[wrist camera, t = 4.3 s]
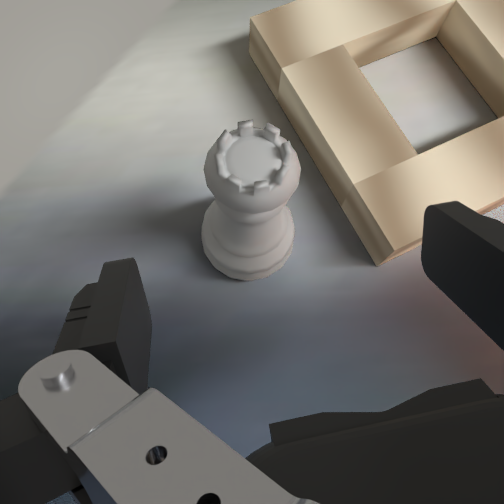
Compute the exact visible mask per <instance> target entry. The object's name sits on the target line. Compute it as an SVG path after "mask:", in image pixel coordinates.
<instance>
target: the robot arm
mask: <svg viewBox="0 0 504 504" xmlns="http://www.w3.org/2000/svg"><path fill="white" fill-rule="evenodd" d="M421 262H422V266H423V269H424V272H425V274H426V275H427V277H428V278H429V279H430V280H431V281H432V282H433V283H434V284H435V285H436V286H437V287H438V288H439V289H440V290H442V291H443V292H444V293H445V294H446V295H447V296H448V297H449V298H450V299H451V300H452V301H453V302H454V303H455V304H456V305H457V306H458V307H459V308H460V309H461V310H462V311H463V312H464V313H465V314H466V315H467V316H468V317H469V318H470V319H471V320H473V321H474V322H475V323H476V324H477V325H478V326H479V327H480V328H481V329H482V330H483V331H484V332H485V333H486V334H487V335H488V336H489V337H490V338H491V339H492V340H493V341H494V342H495V343H496V344H497V345H498V346H499V347H500V348H501V349H502V350H503V351H504V224H503V223H502V222H500V221H498V220H496V219H493V218H489V217H486V216H483V215H481V214H479V213H477V212H476V211H474V210H472V209H471V208H469V207H467V206H465V205H464V204H462V203H460V202H459V201H451V202H445V203H439V204H434V205H429V206H428V207H427V208H426V209H425V212H424V221H423V235H422V250H421ZM151 333H152V323H151V315H150V310H149V306H148V302H147V299H146V295H145V292H144V288H143V284H142V281H141V277H140V274H139V270H138V267H137V264H136V261H135V259H134V258H127V259H122V260H116V261H110V262H105V263H104V264H103V268H102V271H101V274H100V277H99V281H98V282H97V283H92V284H87V285H86V286H85V287H84V288H83V289H82V290H81V291H80V292H79V293H78V294H77V295H76V296H75V297H74V299H73V302H72V304H71V307H70V312H68V315H67V317H66V323H64V325H63V328H62V331H61V333H60V336H59V338H58V341H57V344H56V346H55V349H54V352H53V354H52V355H51V356H48V357H47V358H45V359H43V360H41V361H39V362H38V363H36V364H35V365H34V366H33V367H31V368H30V369H29V370H28V371H27V372H26V373H25V375H24V376H23V377H22V379H21V381H20V383H19V387H18V393H17V394H15V395H13V396H11V397H8V398H6V399H4V400H1V401H0V504H45V503H47V502H49V501H51V500H53V499H55V498H57V497H59V496H61V495H62V494H64V493H66V492H69V494H70V495H71V496H72V498H73V499H74V501H75V502H76V503H77V504H504V395H502V394H494V393H493V392H492V390H491V389H490V388H489V387H488V386H487V385H486V384H485V383H484V381H483V380H482V379H481V378H480V379H476V380H471V381H466V382H462V383H457V384H452V385H448V386H443V387H438V388H434V389H430V390H428V391H426V392H424V393H422V394H420V395H418V396H416V397H414V398H412V399H410V400H407V401H405V402H403V403H401V404H399V405H397V406H395V407H393V408H391V409H389V410H387V411H384V412H322V413H318V414H313V415H309V416H304V417H299V418H295V419H290V420H285V421H281V422H276V423H271V424H269V427H270V434H271V441H272V442H270V443H268V444H266V445H264V446H263V447H261V448H259V449H258V450H256V451H255V452H253V453H251V454H250V455H249V456H248V457H246V458H244V457H242V456H241V455H240V454H238V453H237V452H236V451H235V450H233V449H232V448H231V447H230V446H228V445H227V444H226V443H224V442H223V441H222V440H221V439H219V438H218V437H217V436H216V435H214V434H213V433H212V432H210V431H209V430H208V429H207V428H205V427H204V426H203V425H201V424H200V423H199V422H198V421H196V420H195V419H194V418H193V417H191V416H190V415H189V414H187V413H186V412H185V411H184V410H182V409H181V408H180V407H179V406H177V405H176V404H175V403H173V402H172V401H171V400H170V399H168V398H167V397H166V396H165V395H163V394H162V393H161V392H159V391H158V390H156V389H154V388H148V389H147V384H148V371H149V358H150V345H151Z"/></svg>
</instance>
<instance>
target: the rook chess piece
mask: <svg viewBox="0 0 504 504" xmlns="http://www.w3.org/2000/svg"><path fill="white" fill-rule="evenodd" d="M280 130H281V129H279V128H277V127H275V126H274V125H272V124H270V123H267V125H266V127H265V129H261V128H255V127H253V120H248V121H242V122H238V129H236V130H233V131H231V132H228V131H226V130H224V132H223V133H222V134H221V136H220V137H219V138H218V139H217V141H216V142H215V144H214V145H213V146H212V147H211V149H210V150H209V151H208V153H207V157H206V161H205V165H204V173H205V178H206V183H207V187H208V188H209V189H210V191H211V192H212V193H213V195H214V197H215V200H214V201H213V202H212V204H211V205H210V206H209V208H208V209H207V210H206V212H205V215H204V220H203V224H202V228H201V231H202V235H201V238H202V243H203V248H204V253H205V255H206V256H207V257H208V259H209V260H210V262H211V263H212V265H213V266H214V267H215V268H216V269H217V270H219V271H221V272H222V273H224V274H225V275H227V276H228V277H230V278H235V279H241V280H246V281H251V280H256V279H261V278H266V277H268V276H270V275H271V274H273V273H274V272H276V271H277V270H279V269H280V268H282V267H283V265H284V263H285V262H286V260H287V259H288V257H289V256H290V254H291V253H292V247H293V241H294V233H295V226H294V222H293V219H292V215H291V212H290V209H289V208H288V207H287V206H286V203H287V201H288V200H289V199H290V197H291V196H292V194H293V193H294V191H295V190H296V188H297V187H298V185H299V179H300V172H301V167H300V163H299V160H298V156H297V153H296V151H295V150H294V149H293V148H292V146H291V144H290V141H287V140H286V139H285V138H283V137H281V136H280Z"/></svg>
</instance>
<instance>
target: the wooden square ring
mask: <svg viewBox="0 0 504 504" xmlns="http://www.w3.org/2000/svg"><path fill="white" fill-rule="evenodd" d="M433 37H437V39H438V40H439V41H440V43H441V44H442V45H443V47H444V48H445V49H446V50H447V52H448V53H449V54H450V56H451V57H452V58H453V60H454V61H455V62H456V64H457V65H458V66H459V67H460V69H461V70H462V71H463V73H464V74H465V75H466V77H467V78H468V79H469V81H470V82H471V83H472V85H473V86H474V87H475V88H476V90H477V91H478V92H479V94H480V95H481V96H482V98H483V99H484V100H485V102H486V103H487V104H488V106H489V107H490V108H491V109H492V111H493V112H494V113H495V115H496V116H497V117H498V119H496V120H494V121H492V122H489V123H487V124H485V125H483V126H481V127H478V128H476V129H474V130H472V131H470V132H467V133H465V134H463V135H461V136H459V137H456V138H454V139H452V140H450V141H448V142H445V143H443V144H441V145H439V146H437V147H434V148H432V149H430V150H428V151H426V152H423V153H421V154H419V155H418V154H417V152H416V151H415V149H414V148H413V147H412V145H411V144H410V142H409V141H408V139H407V138H406V136H405V135H404V133H403V132H402V130H401V129H400V127H399V126H398V125H397V123H396V122H395V120H394V119H393V117H392V116H391V114H390V113H389V111H388V110H387V108H386V107H385V105H384V104H383V103H382V101H381V100H380V98H379V97H378V95H377V94H376V92H375V91H374V89H373V88H372V86H371V85H370V83H369V82H368V81H367V79H366V78H365V76H364V75H363V73H362V72H361V70H360V69H359V67H362V66H364V65H367V64H369V63H372V62H374V61H377V60H379V59H381V58H384V57H386V56H389V55H391V54H394V53H396V52H399V51H401V50H404V49H406V48H409V47H411V46H414V45H416V44H419V43H421V42H424V41H426V40H429V39H431V38H433ZM249 54H250V56H251V58H252V59H253V61H254V63H255V64H256V66H257V68H258V69H259V71H260V73H261V74H262V76H263V78H264V79H265V81H266V83H267V84H268V86H269V88H270V89H271V91H272V93H273V94H274V96H275V98H276V99H277V101H278V103H279V104H280V106H281V108H282V109H283V111H284V113H285V114H286V116H287V118H288V119H289V121H290V123H291V124H292V126H293V128H294V129H295V131H296V133H297V134H298V136H299V138H300V139H301V141H302V143H303V144H304V146H305V148H306V149H307V151H308V153H309V154H310V156H311V158H312V159H313V161H314V163H315V164H316V166H317V168H318V169H319V171H320V173H321V174H322V176H323V178H324V179H325V181H326V183H327V184H328V186H329V188H330V189H331V191H332V193H333V194H334V196H335V198H336V199H337V201H338V203H339V204H340V206H341V208H342V209H343V211H344V213H345V214H346V216H347V218H348V219H349V221H350V223H351V224H352V226H353V228H354V229H355V231H356V233H357V234H358V236H359V238H360V239H361V241H362V243H363V244H364V246H365V248H366V249H367V251H368V253H369V254H370V256H371V258H372V259H373V261H374V263H375V264H376V266H379V265H381V264H384V263H386V262H388V261H390V260H392V259H394V258H396V257H398V256H400V255H402V254H404V253H406V252H408V251H410V250H412V249H414V248H416V247H418V246H420V245H422V235H423V221H424V212H425V209H426V208H427V207H428V206H429V205H434V204H439V203H445V202H451V201H459V202H460V203H462V204H464V205H465V206H467V207H469V208H471V209H472V210H474V211H476V212H477V213H479V214H481V215H483V214H485V213H487V212H489V211H491V210H493V209H495V208H497V207H499V206H501V205H503V204H504V0H296V1H294V2H291V3H288V4H285V5H283V6H280V7H277V8H274V9H272V10H269V11H266V12H263V13H261V14H258V15H255V16H252V17H250V36H249Z"/></svg>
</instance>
